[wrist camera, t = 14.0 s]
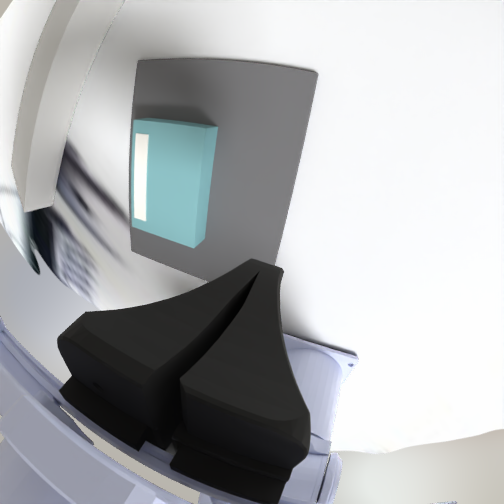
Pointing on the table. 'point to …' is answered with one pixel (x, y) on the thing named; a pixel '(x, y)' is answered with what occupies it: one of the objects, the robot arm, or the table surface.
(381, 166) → the table surface
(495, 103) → the table surface
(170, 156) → the card box
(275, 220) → the mat
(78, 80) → the bevelled gray strip
